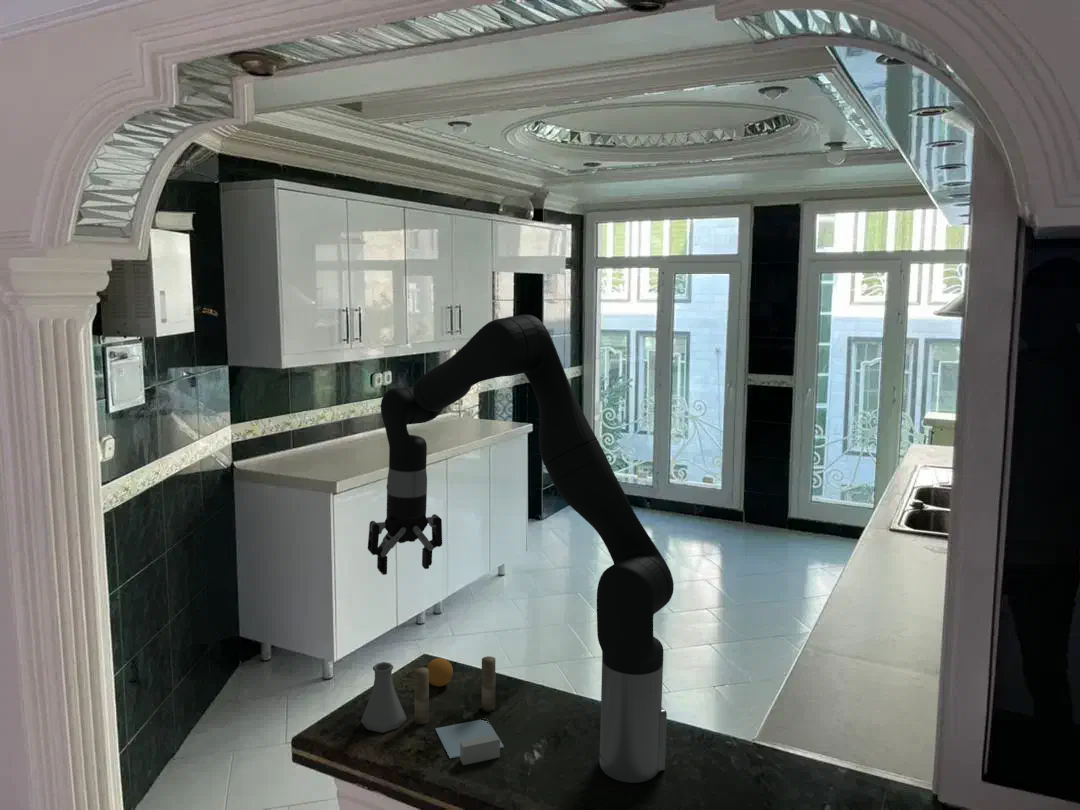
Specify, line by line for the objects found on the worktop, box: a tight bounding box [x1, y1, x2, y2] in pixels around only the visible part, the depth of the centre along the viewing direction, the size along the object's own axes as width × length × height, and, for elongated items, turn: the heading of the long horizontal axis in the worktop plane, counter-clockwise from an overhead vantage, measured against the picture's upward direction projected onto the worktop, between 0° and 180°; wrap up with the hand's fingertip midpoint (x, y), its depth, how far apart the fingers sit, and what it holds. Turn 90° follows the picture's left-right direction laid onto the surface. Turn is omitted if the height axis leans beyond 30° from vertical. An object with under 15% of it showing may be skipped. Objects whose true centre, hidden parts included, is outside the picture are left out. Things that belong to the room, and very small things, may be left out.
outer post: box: [413, 667, 430, 725], centre depth 134 cm, size 2×2×9 cm
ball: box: [426, 657, 454, 687], centre depth 147 cm, size 5×5×5 cm
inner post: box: [481, 656, 496, 710], centre depth 138 cm, size 2×2×9 cm
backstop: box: [459, 733, 501, 766], centre depth 124 cm, size 6×2×3 cm, turn 112°
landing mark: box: [434, 719, 505, 760], centre depth 130 cm, size 9×9×1 cm
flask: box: [360, 661, 408, 734], centre depth 134 cm, size 7×7×10 cm
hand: (404, 570), depth 154 cm, fingers open, 8 cm apart
